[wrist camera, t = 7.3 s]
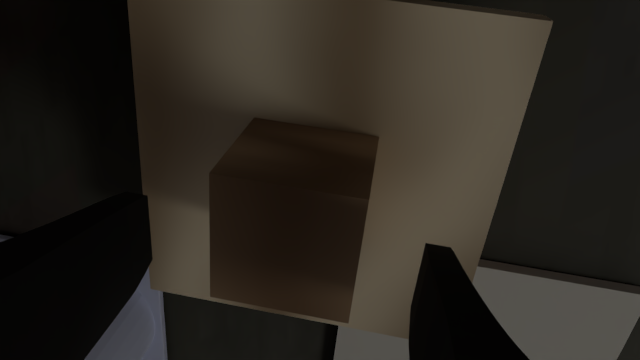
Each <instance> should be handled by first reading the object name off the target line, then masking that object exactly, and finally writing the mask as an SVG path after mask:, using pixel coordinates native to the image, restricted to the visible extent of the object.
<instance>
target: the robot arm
mask: <svg viewBox="0 0 640 360" xmlns="http://www.w3.org/2000/svg"><path fill="white" fill-rule="evenodd" d="M152 259H153V257H152V245H151V232H150V220H149V207H148V196H147V195H141V194H135V193H129V192H124V193H121V194H118V195H115V196H112V197H110V198H107V199H105V200H103V201H100V202H98V203H95V204H93V205H91V206H89V207H86V208H84V209H82V210H79V211H77V212H75V213H72V214H70V215H68V216H65V217H63V218H61V219H58V220H56V221H54V222H51V223H49V224H46V225H44V226H41V227H39V228H36V229H34V230H31V231H28V232H26V233H23V234H21V235H18V236H16V237H11V236H5V235H0V360H168V359H167V346H166V332H165V318H164V304H163V291H159V290H153V289H151V288H150V276H149V265H150V263H151V261H152ZM409 360H530V359H529V358H528V357H527V356H526V355H525V354H524V353H523V352H522V351H521V349H520V348H519V347H518V346H517V345H516V344H515V343H514V341H513V340H512V339H511V338H510V337H509V335H508V334H507V333H506V332H505V330H504V329H503V328H502V326H501V325H500V324H499V322H498V321H497V320H496V318H495V317H494V315H493V314H492V313H491V311H490V310H489V308H488V307H487V305H486V304H485V302H484V301H483V299H482V298H481V296H480V295H479V293H478V292H477V290H476V289H475V287H474V285H473V284H472V282H471V280H470V279H469V277H468V275H467V274H466V272H465V270H464V269H463V267H462V265H461V263H460V262H459V260H458V258H457V256H456V255H455V253H454V251H453V250H452V248H451V247H446V246H440V245H435V244H429V243H425V248H424V252H423V256H422V260H421V265H420V269H419V273H418V277H417V282H416V286H415V290H414V294H413V299H412V303H411V309H410V324H409Z"/></svg>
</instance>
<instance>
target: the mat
mask: <svg viewBox="0 0 640 360" xmlns="http://www.w3.org/2000/svg"><path fill="white" fill-rule="evenodd" d="M472 284H473V285H474V287H475V289H476V290H477V292H478V293H479V295H480V296H481V298H482V299H483V301H484V302H485V304H486V305H487V307H488V308H489V310H490V311H491V313H492V314H493V315H494V317H495V318H496V320H497V321H498V322H499V324H500V325H501V326H502V328H503V329H504V330H505V332H506V333H507V334H508V335H509V337H510V338H511V339H512V340H513V341H514V343H515V344H516V345H517V346H518V347H519V348H520V349H521V351H522V352H523V353H524V354H525V355H526V356H527V357H528V358H529V359H530V360H617V358H618V356H619V354H620V352H621V350H622V348H623V347H624V345H625V343H626V341H627V339H628V337H629V335H630V333H631V331H632V329H633V328H634V326H635V324H636V322H637V320H638V318H639V316H640V287H639V286H634V285H628V284H622V283H616V282H610V281H605V280H599V279H593V278H587V277H581V276H576V275H570V274H564V273H558V272H552V271H547V270H541V269H535V268H529V267H523V266H518V265H512V264H506V263H500V262H494V261H488V260H483V259H479V262H478V266H477V269H476V272H475V275H474V279H473V282H472ZM334 360H409V339H405V338H400V337H394V336H389V335H384V334H379V333H374V332H369V331H364V330H359V329H353V328H348V327H343V326H338V333H337V339H336V346H335V353H334Z"/></svg>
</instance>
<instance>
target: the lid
mask: <svg viewBox="0 0 640 360" xmlns="http://www.w3.org/2000/svg"><path fill="white" fill-rule="evenodd" d="M127 2H128V15H129V27H130V40H131V52H132V65H133V77H134V89H135V102H136V114H137V127H138V139H139V151H140V164H141V176H142V189H143V195H147V196H148V207H149V220H150V232H151V245H152V257H153V259H152V261H151V263H150V265H149V276H150V288H151V289H153V290H159V291H164V292H169V293H174V294H179V295H184V296H189V297H195V298H200V299H205V300H210V301H215V302H220V303H225V304H230V305H236V306H241V307H246V308H251V309H256V310H261V311H266V312H271V313H277V314H282V315H287V316H292V317H297V318H302V319H307V320H312V321H318V322H323V323H328V324H333V325H338V326H343V327H348V328H353V329H359V330H364V331H369V332H374V333H379V334H384V335H389V336H394V337H400V338H405V339H409V324H410V309H411V303H412V299H413V294H414V290H415V286H416V282H417V277H418V273H419V269H420V265H421V260H422V256H423V252H424V248H425V243H429V244H435V245H440V246H446V247H451V248H452V250H453V251H454V253H455V255H456V256H457V258H458V260H459V262H460V263H461V265H462V267H463V269H464V270H465V272H466V274H467V275H468V277H469V279H470V280H471V282H473V279H474V275H475V272H476V269H477V266H478V262H479V259H480V256H481V253H482V250H483V246H484V243H485V240H486V237H487V233H488V230H489V227H490V224H491V220H492V217H493V214H494V211H495V208H496V204H497V201H498V198H499V195H500V191H501V188H502V185H503V182H504V178H505V175H506V172H507V169H508V166H509V162H510V159H511V156H512V153H513V149H514V146H515V143H516V140H517V136H518V133H519V130H520V127H521V124H522V120H523V117H524V114H525V111H526V107H527V104H528V101H529V98H530V94H531V91H532V88H533V85H534V82H535V78H536V75H537V72H538V69H539V65H540V62H541V59H542V56H543V52H544V49H545V46H546V43H547V40H548V36H549V33H550V30H551V27H552V23H553V21H552V20H551V19H549V18H548V17H546V16H545V15H540V14H532V13H524V12H516V11H508V10H500V9H492V8H484V7H477V6H469V5H461V4H453V3H445V2H437V1H429V0H127Z"/></svg>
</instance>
